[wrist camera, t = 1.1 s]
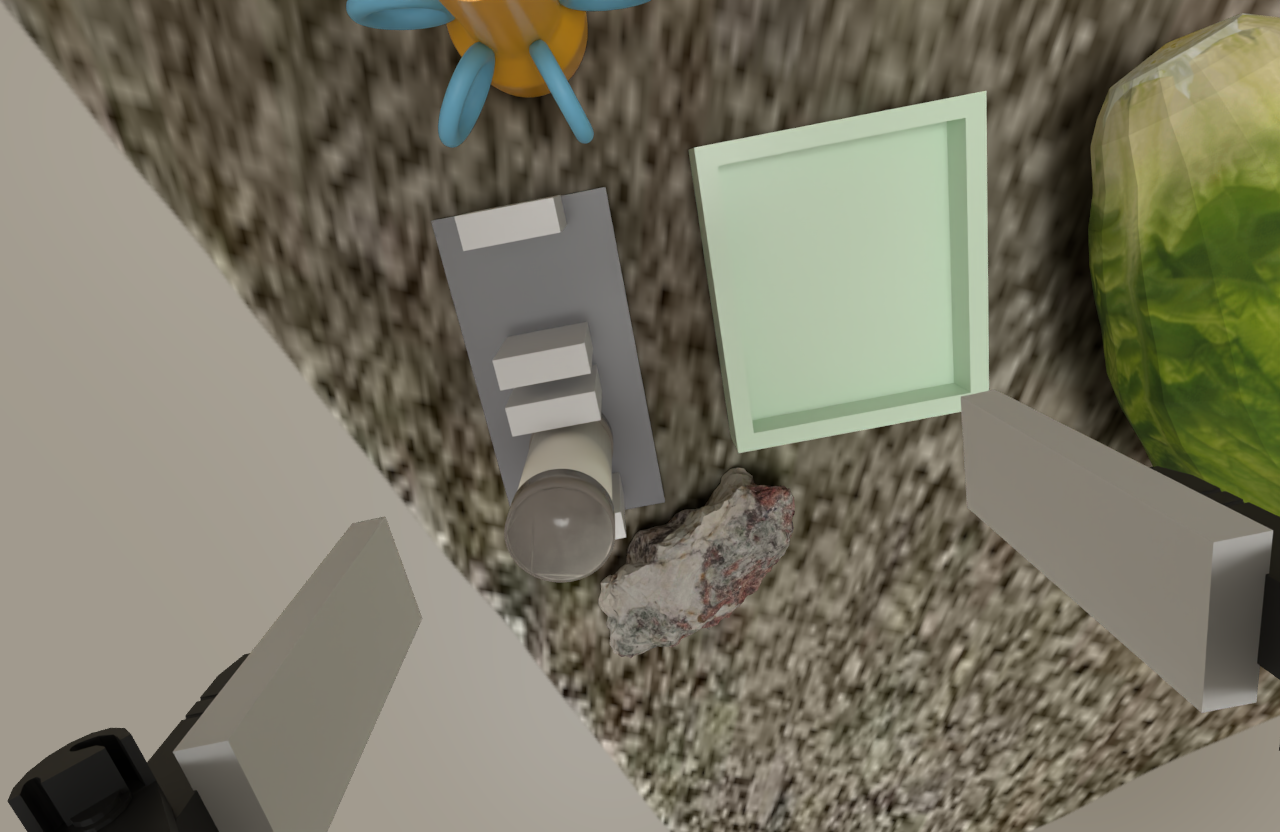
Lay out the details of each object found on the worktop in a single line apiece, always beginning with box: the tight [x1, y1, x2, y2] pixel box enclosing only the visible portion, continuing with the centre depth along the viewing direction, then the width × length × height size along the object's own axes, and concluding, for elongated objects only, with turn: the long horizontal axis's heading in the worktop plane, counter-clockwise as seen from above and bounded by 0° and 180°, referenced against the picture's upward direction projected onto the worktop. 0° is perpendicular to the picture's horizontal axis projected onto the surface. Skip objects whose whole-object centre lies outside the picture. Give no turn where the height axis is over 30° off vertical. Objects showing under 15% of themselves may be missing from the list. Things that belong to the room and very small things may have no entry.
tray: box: [688, 91, 989, 453], centre depth 36 cm, size 16×14×2 cm
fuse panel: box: [431, 187, 665, 539], centre depth 35 cm, size 18×9×6 cm, turn 10°
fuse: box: [505, 412, 615, 582], centre depth 34 cm, size 5×5×11 cm
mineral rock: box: [598, 467, 795, 658], centre depth 41 cm, size 15×8×4 cm, turn 124°
